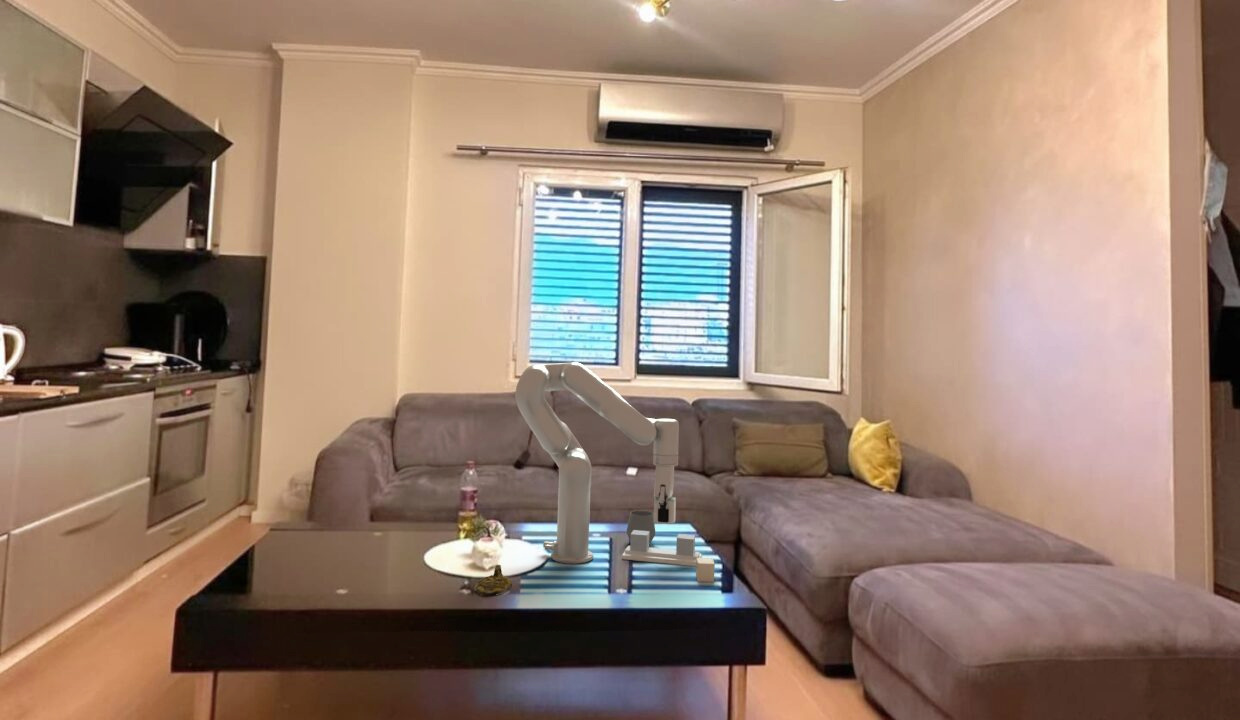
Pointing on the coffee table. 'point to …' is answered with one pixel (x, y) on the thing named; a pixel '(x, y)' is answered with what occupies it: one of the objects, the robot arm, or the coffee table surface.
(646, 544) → the rail board
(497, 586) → the seal
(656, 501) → the module
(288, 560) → the coffee table surface
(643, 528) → the cup
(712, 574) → the block
